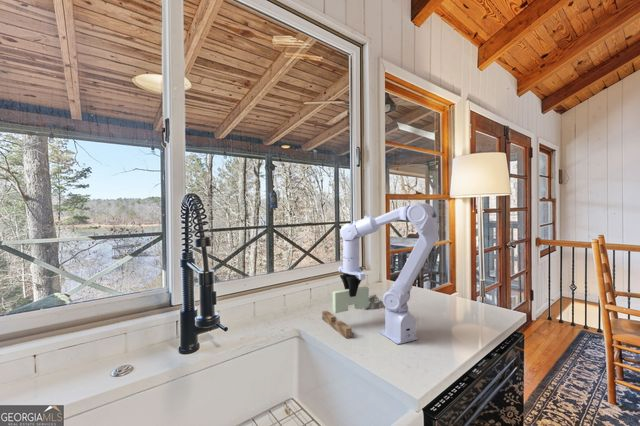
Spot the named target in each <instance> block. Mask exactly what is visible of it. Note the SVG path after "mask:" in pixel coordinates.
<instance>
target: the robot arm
mask: <svg viewBox="0 0 640 426" xmlns="http://www.w3.org/2000/svg"><path fill="white" fill-rule="evenodd" d="M400 220H401V221H402V220H403V221H409V222H410V223H411V224H412V225H413V226H414V228H415V229H416V232H417V234H418V239H417V241H416V243H415V245H414V247H412V248H413V249H412V250H411V252H410V254H409V256H408V258H407V260H406V262H405V264H404V266H403V267H402V269H401V271H400V272H399V274H398V277H397V278H396V280H395V281H394V282H393V284H392V285H391V286H390V289H389V290H387V291H386V292H384V294H383V295H382V301H383V302H382V305H384V308H385V309H384V315H385V316H384V318H385V320H384V324H385V325H384V329H382V330H380V331H379V334H381V335H383V336H384V337H386V338H387V339H388V340H390V341H392V342H393V343H395V344H397V345H400V344H404V343H408V342H412V341H416V340H418V337H416V318H415V316H414V315H413V314H411V313H410V311H409V306H408V303H407V302H409V300H410V299H411V298H410V297H411V290H412V289H413V284H414V282H415V280H416V279H417V277H418V275H419V274H420V271H421V270H422V268H423V266H424V264H425V262H426V260H427V258H428V257H429V255H430V253H431V251H432V249H433V248H434V247H435V244H436V242H437V240H438V239H439V226H438V213H437V212H436V210H435V207H433V206H432V205H431V204H430V203H426V202H423V203H420V202H416V203H412V204H409V205H404V206H401V207H398V208H395V209H393V210H390V211H389V212H386V213H384V214H380V215H379V216H374V215H369V214H367V215H364V217H363V218H361V219H359V220H353V221H352V223H345V224H344V225H342V226H341V228H340V230H339V231H340V232H339V234H340V237H341V238H342V265H339V266H338V272H340V273H343V274H339V275H340V276H339V277H340V279H341V281H342V283H343V287H344V290H346V289H349V294H350V297H354V296H356V293H357V289H358V288H359V287H360V286H359V285H360V284H361V282H362V280H366V273H365V272H364V271H362V268H360V238H361V237H365V236H369V235H371V234H374V233H377V232H378V231H379V229H380V227H382V226H384V225H387V224H388V225H389V224H391V223H393V222H396V221H400Z"/></svg>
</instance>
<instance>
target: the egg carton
mask: <svg viewBox="0 0 640 426" xmlns="http://www.w3.org/2000/svg"><path fill="white" fill-rule="evenodd" d="M382 307H383V300H382V299H379V297H378V296H377V294H371V295H369V307H365V308H360V309H359V310H363V311H367V309H370V310H374V309H376V308H377V309H382Z"/></svg>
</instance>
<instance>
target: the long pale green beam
mask: <svg viewBox="0 0 640 426" xmlns="http://www.w3.org/2000/svg"><path fill="white" fill-rule="evenodd" d="M369 297H370V288H369V287H368V286H358V289H357V293H356V296H354V297H350V294H349V289H346V290H345V289H341V290H334V291H332V312H333V313H334V314H338V313H343V312H348V311H349V306H352V305H353V309H355V310H361V309H360V308H365V307H369Z"/></svg>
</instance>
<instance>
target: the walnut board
mask: <svg viewBox="0 0 640 426" xmlns="http://www.w3.org/2000/svg"><path fill="white" fill-rule="evenodd" d="M321 319H322V320H323V321H324V323H326V324H327V325H328V326H330V327H331V328H333V329H334V330H335V331H336V332H337V333H338V334H340V335H341V336H343V337H344V338H345V339H351V338H352V337H353V336H352V335H353V334H352V333H353V332H352V331H353V329H352V327H351V326H349V325H348V324H347V323H345V322H344V321H342V320H341V319H339V320H337V316H335V315H334V314H333V313H331V312H330V311H329V310H322V311H321Z"/></svg>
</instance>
